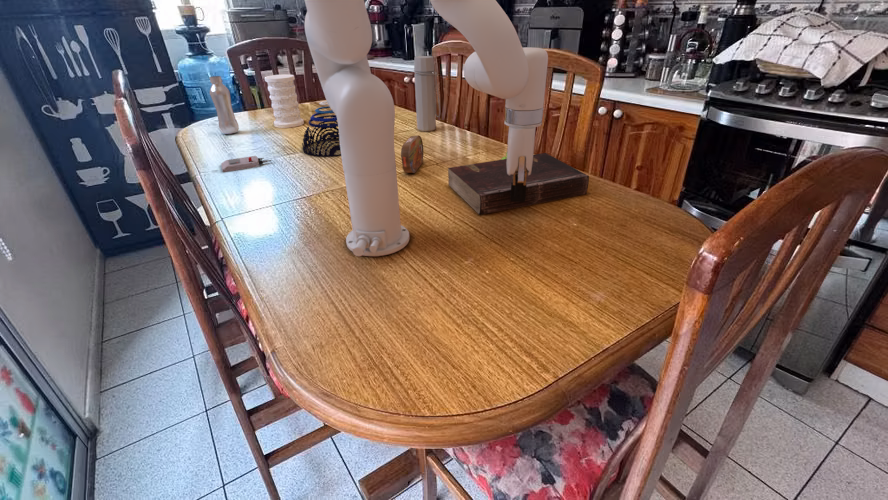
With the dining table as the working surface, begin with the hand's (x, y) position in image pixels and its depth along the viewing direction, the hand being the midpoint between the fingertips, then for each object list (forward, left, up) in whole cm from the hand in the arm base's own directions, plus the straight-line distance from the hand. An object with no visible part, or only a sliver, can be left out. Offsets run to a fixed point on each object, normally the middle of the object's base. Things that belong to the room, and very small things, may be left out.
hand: (517, 199), depth 93 cm
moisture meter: (+28, +80, -3) cm, 85 cm away
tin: (+28, +28, -3) cm, 40 cm away
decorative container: (+77, +87, -3) cm, 116 cm away
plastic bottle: (+63, +104, -3) cm, 122 cm away
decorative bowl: (+47, +58, -3) cm, 75 cm away
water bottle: (+70, +29, -3) cm, 76 cm away
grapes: (+29, 0, -3) cm, 29 cm away
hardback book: (+13, 0, -3) cm, 13 cm away
